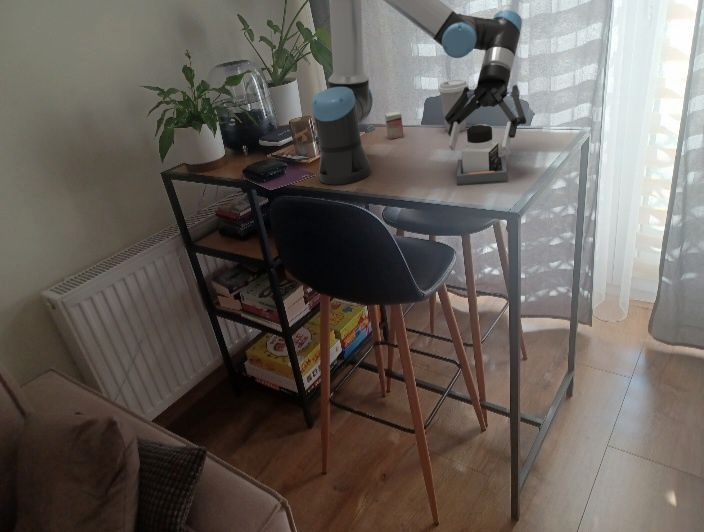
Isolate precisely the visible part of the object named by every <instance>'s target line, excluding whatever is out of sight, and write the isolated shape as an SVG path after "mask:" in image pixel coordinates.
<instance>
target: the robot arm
mask: <svg viewBox="0 0 704 532" xmlns="http://www.w3.org/2000/svg"><path fill="white" fill-rule="evenodd" d="M383 2H385V3H386V4H388V5H389V6H390V7H391V8H393V9H394V10H395V11H396V12H398V13H399V14H400V15H402V16H403V17H405V18H406V20H408V21H410V22H411V23H412V24H413V25H415V26H416V27H418V28H419V29H420V30H421V31H422V32H423V33H425V34H426V35H427V36H429V37H430V38H431V39H433V40H434V41H435V42H436V43H437V44H439V45H440V46H441V47H442V49H443V51H444V52H445V54H446V55H447V56H448V57H450V58H452V59H461V58H462V59H463V58H464V57H466V56H467V55H469V54H470V53H472V52H473V50H479V51H484V55H483V59H482V63H481V66H480V67H481V68H480V72H479V76H478V80H477V85H476V87H475V88H474V89H472V88H471V89H470V88H468V87H465V88H464V90H463V93H462V95H461V96H460V98H459V99H458V100H457V102H456V103H455V104H454V106H453V107H452V108H451V110H450V111H449V112H448V114H447V115H446V116H445V120H446V121H447V123H448V124H450V128H449V132H448V131H447V132H448V133H447V134H448V137H450V138H449V142H448V148H449V149H450V150H451V151H455V150H456V147H457V142H458V138H459V133H460V131H459V130H460V126H459V124H460V123H461V122H462V121H463V120H464V119H465V118H466V119H467V118H468V117H469V116H470V115H471V114H472V113H473V112H475V110H478V109H480V108H481V107H483V108H487V107H491V108H494V107H496V106H499V107H500V109H501V111H503V113H504V115H505V116H506V117H507V118H508V120H509V121H507V123H506V127H505V132H504V136H503V139H502V145H501V147H502V150H503V153H507V152H508V151H509V147H510V143H511V139H512V138H513V139H514V138H515V137H516V134H517V129H518V127H519V126H520V125H525V124H526V123H527V118H526V116H525V112H524V108H523V106H522V103H521V101H520V89H519V86H518V85H516V84H515V85H513V86H512V87H509V82H510V78H511V74H512V69H513V65H514V61H515V57H516V53H517V48H518V44H519V41H520V36H521V31H522V25H523V21H522V17H521V16H520V14H518V13H517V12H516V11H514V10H509V9H506V10H505V9H504V10H503V11H502V10H500V11H497V12H496V13H495V14H494V16H493V18H484V17H479V16H472V15H467V14H462V13H457V12H455V11H454V10H453V9H451V7H449V6H448V5H446V4H445V3H444V2H443V1H442V0H383ZM328 3H329V15H330V16H329V20H330V21H329V22H330V40H331V54H332V55H331V57H332V58H331V59H332V74H331V75H330V77H329V78H328V81H327V82H328V88H325V89H324V90H321V91H319V92H318V93H316V94H315V95H314V96H313V98H312V100H311V108H312V109H311V110H312V111H311V112H312V115H313V120H314V124H315V130H316V135H317V139H318V143H319V144H318V145H319V150H320V157H319V166H318V167H319V168H318V175H319V181H320V182H321V183H322V184H326V185H333V186H334V185H335V186H336V185H337V186H339V185H345V184H351V183H355V182H358V181H361V180H364V179H365V178H367V177H368V176H370V175H371V174H372V165H371V162H370V159H369V158H368V155H367V153H366V151H365V150H364V147H363V145H362V140H361V139H362V138H361V133H360V126H359V125H360V124H362V122H364V121H365V120H366V119H367V117H369V115H370V113H371V110H372V108H373V104H374V103H373V102H374V101H373V100H374V99H373V94H372V92H371V88H370V87H369V85H370V84H369V83H370V82H369V76H368V75H367V74H366V73H365V72H364V58H363V57H364V54H363V17H362V16H363V14H362V9H363V8H362V0H329V2H328ZM508 95H509V97H510V98H512V100H513V102H514V106H515V108H516V113H517V117H516V116H515V114H514V113H513V111H512V110H511V109H510V107H509V106H508V105H507V103H506V101H504V99H505V98H506V97H507V96H508ZM469 100H470V101H469ZM466 104H467V105H466ZM465 105H466V106H465ZM464 106H465V107H464ZM463 107H464V108H463ZM445 120H444V121H445Z"/></svg>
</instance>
